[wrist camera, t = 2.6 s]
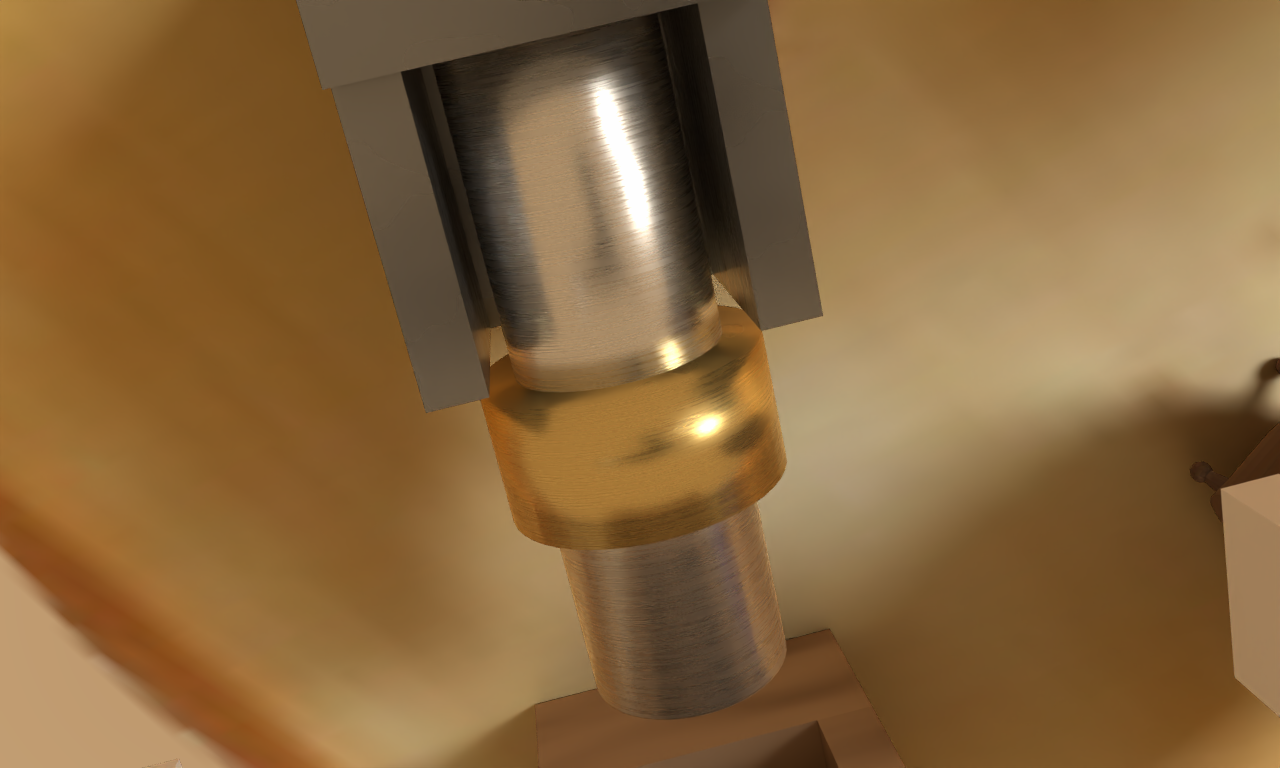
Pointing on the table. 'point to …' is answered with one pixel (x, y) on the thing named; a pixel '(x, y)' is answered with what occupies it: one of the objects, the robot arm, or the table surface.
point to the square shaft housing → (433, 186)
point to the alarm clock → (1243, 467)
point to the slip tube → (621, 366)
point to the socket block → (732, 724)
